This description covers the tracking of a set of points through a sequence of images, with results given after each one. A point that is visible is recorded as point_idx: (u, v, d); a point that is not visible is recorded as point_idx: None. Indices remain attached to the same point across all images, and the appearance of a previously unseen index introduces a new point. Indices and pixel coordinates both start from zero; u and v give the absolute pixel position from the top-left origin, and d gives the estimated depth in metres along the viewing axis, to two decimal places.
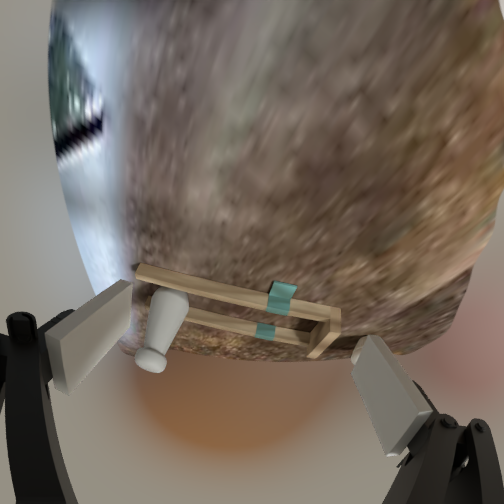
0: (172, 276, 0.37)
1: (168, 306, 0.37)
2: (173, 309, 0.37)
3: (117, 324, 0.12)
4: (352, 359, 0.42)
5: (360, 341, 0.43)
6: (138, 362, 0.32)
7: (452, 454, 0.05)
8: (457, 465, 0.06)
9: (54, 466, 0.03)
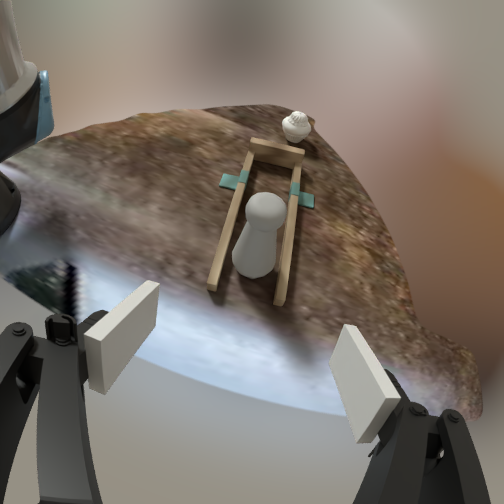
0: None
1: None
2: None
3: (146, 324, 0.13)
4: (299, 131, 0.52)
5: (290, 139, 0.55)
6: (255, 210, 0.28)
7: (424, 442, 0.06)
8: (432, 457, 0.07)
9: (85, 469, 0.04)
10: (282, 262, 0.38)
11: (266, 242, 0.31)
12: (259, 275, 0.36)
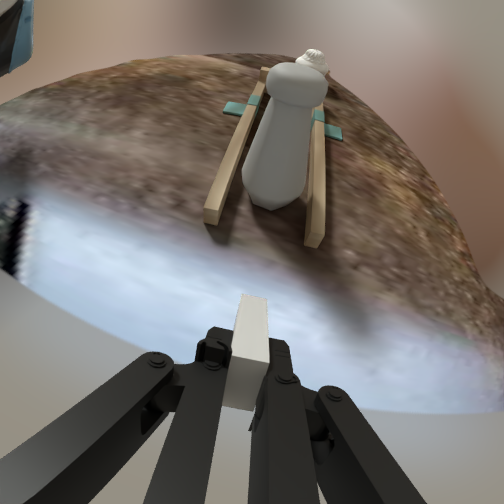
0: None
1: None
2: None
3: None
4: (316, 68, 0.40)
5: None
6: (283, 72, 0.15)
7: (303, 413, 0.08)
8: (323, 438, 0.09)
9: (204, 494, 0.04)
10: (314, 186, 0.25)
11: (298, 134, 0.19)
12: (283, 198, 0.23)
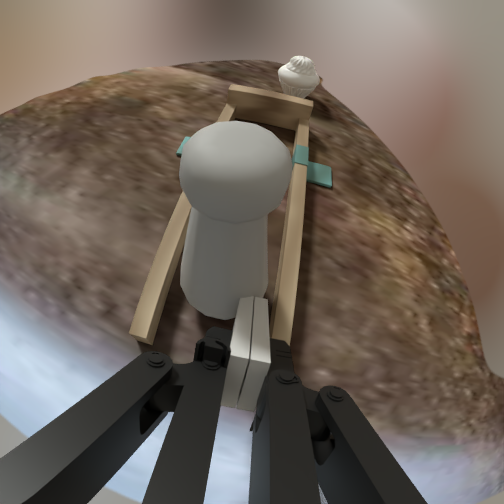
0: None
1: None
2: None
3: None
4: (302, 81, 0.33)
5: (290, 93, 0.36)
6: (199, 160, 0.09)
7: (304, 413, 0.08)
8: (324, 438, 0.09)
9: (204, 494, 0.04)
10: (280, 288, 0.19)
11: (242, 250, 0.13)
12: (234, 315, 0.17)
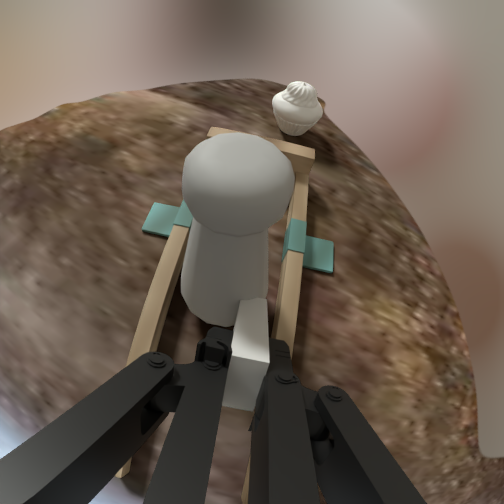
0: None
1: None
2: None
3: None
4: (302, 115, 0.28)
5: (286, 129, 0.31)
6: (202, 175, 0.09)
7: (303, 413, 0.08)
8: (323, 438, 0.09)
9: (204, 494, 0.04)
10: None
11: (244, 261, 0.13)
12: None
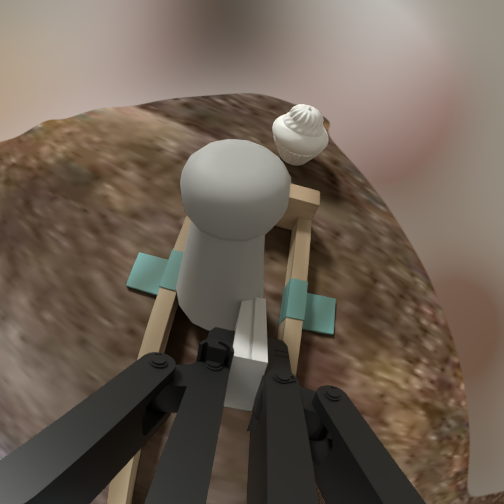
0: None
1: None
2: None
3: None
4: (306, 146, 0.26)
5: (287, 158, 0.29)
6: (206, 184, 0.09)
7: (301, 412, 0.08)
8: (321, 438, 0.09)
9: (206, 495, 0.04)
10: None
11: (246, 264, 0.13)
12: None
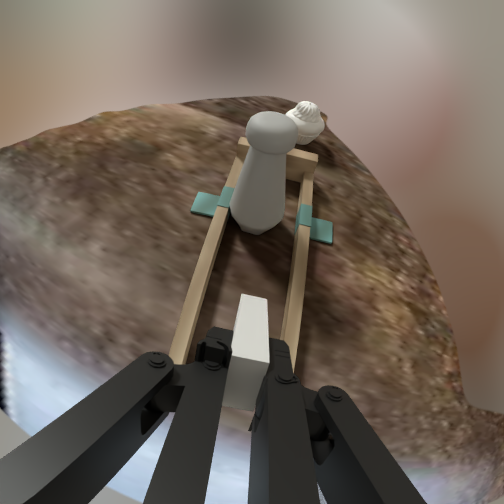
0: None
1: None
2: None
3: None
4: (308, 129, 0.37)
5: None
6: (260, 126, 0.20)
7: (303, 413, 0.08)
8: (323, 438, 0.09)
9: (204, 494, 0.04)
10: None
11: (276, 174, 0.24)
12: (268, 225, 0.28)
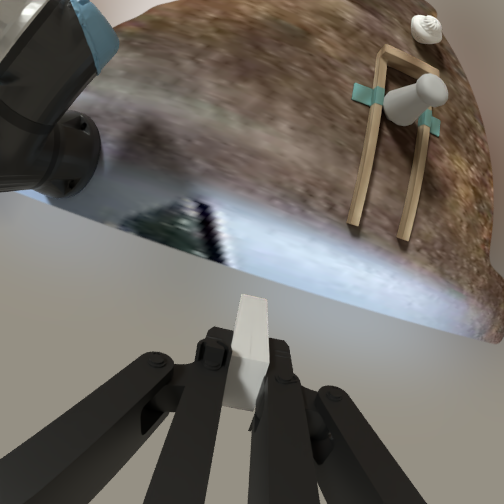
0: (356, 187, 0.37)
1: (391, 96, 0.31)
2: (393, 92, 0.31)
3: None
4: (431, 40, 0.28)
5: (417, 40, 0.31)
6: (430, 93, 0.23)
7: (303, 413, 0.08)
8: (323, 438, 0.09)
9: (205, 494, 0.04)
10: (411, 204, 0.36)
11: (425, 108, 0.27)
12: (408, 124, 0.33)
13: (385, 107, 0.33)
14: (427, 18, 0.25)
